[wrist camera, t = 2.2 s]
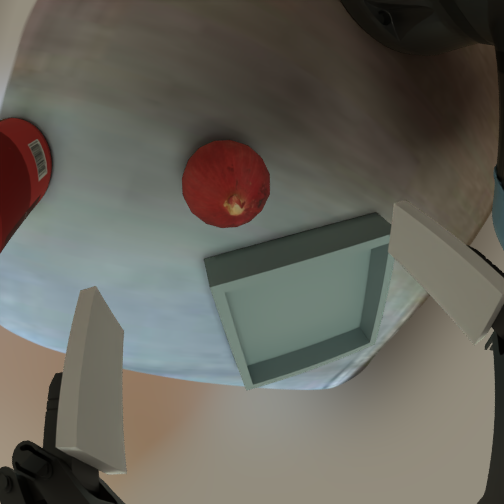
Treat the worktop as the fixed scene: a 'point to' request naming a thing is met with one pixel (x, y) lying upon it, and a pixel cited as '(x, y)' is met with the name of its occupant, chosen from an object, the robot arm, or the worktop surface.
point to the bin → (303, 297)
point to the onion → (226, 183)
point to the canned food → (21, 173)
